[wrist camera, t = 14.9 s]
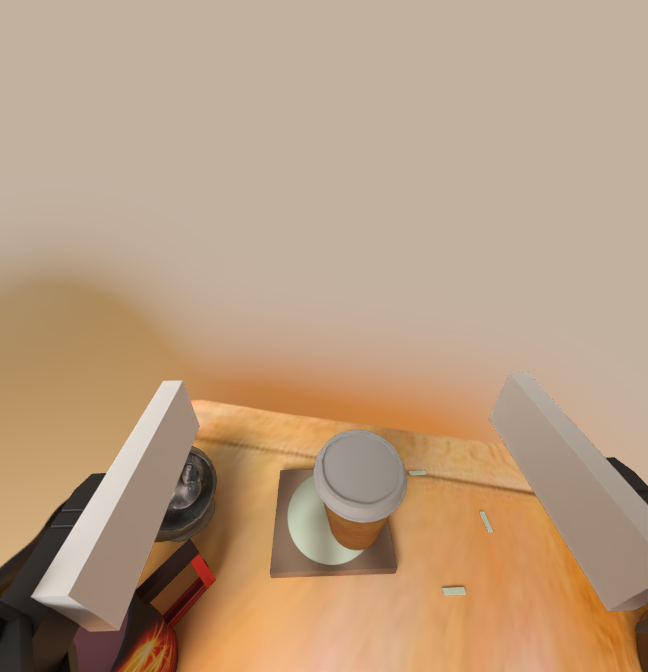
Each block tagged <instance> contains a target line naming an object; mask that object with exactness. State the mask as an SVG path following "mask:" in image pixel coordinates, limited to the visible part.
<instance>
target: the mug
mask: <svg viewBox="0 0 648 672" xmlns="http://www.w3.org/2000/svg"><path fill="white" fill-rule="evenodd" d="M189 563H191V564H192V566H193V567H194V569H195V570H196V572H197V573H198V575H199V578H198V579H197V580H196V581H195V582H194V583H193V584H192V585H191V586H190V587H189V588H188V589H187V590H186V591H185V593H184V594H183V595H182V596H181V597H180V598H179V599H178V600H177V601H176V602H175V603H174V604H173V605H172V607H171V608H170V609H169V610H168V611H167V612H166V613H165V614H164V615H162V614H161V613H160V612H159V611H158V610H157V609H156V608H154V607H153V606H152V605H151V604H150V602H151V601H152V600H153V599H154V598H155V597H156V596H157V595H158V594H159V593H160V592H161V591H162V590H163V589H164V588H165V587H166V586H167V585H168V584H169V583H170V582H171V581H172V580H173V579H174V578H175V577H176V576H177V575H178V574H179V573H180V572H181V571H182V570H183V569H184V568H185V567H186V566H187V565H188V564H189ZM215 580H216V579H215V577H214V575H213V573H212V572H211V570H210V568H209V567H208V565H207V563H206V562H205V560H204V559H202V557H201V555H200V554H199V552H198V550H197V549H196V547H195V545H194V544H193V542H192V541H191V539H189V540H188V541H187V542H186V543H185V544H184V545H182V546H181V547H180V548H179V549H178V550H177V551H176V552H175V553H174V554H173V555H172V556H171V557H170V558H169V559H168V560H167V561H166V562H165V563H163V564H162V565H161V566H160V567H159V568H158V569H157V570H156V571H155V572H154V573H153V574H152V575H151V576H150V577H149V578H148V579H147V580H146V581H145V582H144V583H143V584H142V585H141V586H139V587H138V588H137V589H136V590H135V592H134V594H133V597H132V599H131V602H130V604H129V607H128V610H127V612H126V615H125V617H124V620H123V622H122V625H121V627H120V630H119V631H95V632H90V631H88V630H86V629H84V628H83V627H81V626H79V628H78V630H77V632H76V634H75V636H74V638H73V641H74V643H75V646H76V651H77V658H78V665H79V672H176V669H177V660H178V645H177V639H176V635H175V631H174V629H173V627H174V626H175V625H176V624H177V622H178V621H179V620H180V619H181V618H182V617H183V616H184V615H185V613H186V612H187V611H188V610H189V609H190V608H191V607H192V606H193V604H194V603H195V602H196V601H197V600H198V599H199V598H200V597H201V595H202V594H203V593H204V592H205V591H206V590H207V589H208V588H209V587H210V586H211V585H212V584H213V583H214V582H215Z"/></svg>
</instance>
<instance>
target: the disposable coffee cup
mask: <svg viewBox="0 0 648 672" xmlns="http://www.w3.org/2000/svg"><path fill="white" fill-rule="evenodd" d="M313 476H314V482H315V486H316V489H317V492H318V494H319V496H320V498H321V499H322V500H323V503H324V507H325V510H326V515H327V518H328V522H329V525H330V530H331V532H332V534H333V536H334V538H335V539H336V541H337V542H338V543H339V544H341V545H342V546H343V547H345V548H347V549H350V550H364V549H366V548H368V547H370V546H371V545H372V544H373V543H374V542H375V541H376V539H377V537H378V535H379V534H380V532H381V530H382V528H383V527H384V525H385V523H386V521H387V519H388V518H389V516H390V514H391V513H393V512H394V511H395V510H396V509H397V508H398V507H399V505H400V504H401V502H402V500H403V498H404V496H405V493H406V489H407V475H406V470H405V467H404V464H403V462H402V460H401V458H400V456H399V454H398V452H397V451H396V449H395V448H394V447H393V446H392V444H391V443H389V442H388V441H387V440H385V439H384V438H383V437H382V436H379V435H377V434H375V433H372V432H369V431H364V430H350V431H345V432H342V433H340V434H337V435H335V436H334V437H333V438H331V439H330V440H329V441H328V442H327V443H326V444H325V445H324V447H323V448H322V449H321V451H320V452H319V454H318V456H317V458H316V461H315V465H314V475H313Z"/></svg>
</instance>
